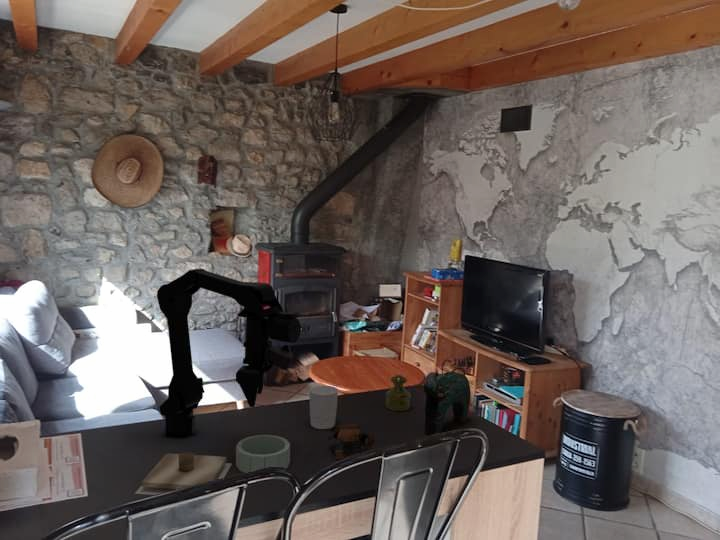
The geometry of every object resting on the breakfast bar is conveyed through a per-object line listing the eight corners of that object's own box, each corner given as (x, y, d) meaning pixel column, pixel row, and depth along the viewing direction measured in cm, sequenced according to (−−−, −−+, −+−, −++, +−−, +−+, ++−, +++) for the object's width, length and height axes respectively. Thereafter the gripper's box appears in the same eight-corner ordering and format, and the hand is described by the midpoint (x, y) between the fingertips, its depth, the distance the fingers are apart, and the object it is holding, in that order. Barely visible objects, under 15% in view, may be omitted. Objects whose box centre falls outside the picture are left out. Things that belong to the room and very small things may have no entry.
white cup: (333, 431, 160) (334, 395, 158) (304, 428, 161) (305, 392, 160) (339, 421, 167) (341, 386, 166) (312, 418, 169) (313, 384, 168)
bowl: (230, 476, 132) (230, 454, 131) (243, 453, 144) (243, 433, 143) (284, 479, 132) (284, 457, 131) (292, 456, 143) (293, 436, 143)
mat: (134, 496, 122) (134, 493, 122) (163, 462, 138) (163, 459, 138) (211, 500, 121) (211, 498, 121) (232, 465, 137) (232, 463, 137)
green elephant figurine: (435, 440, 156) (439, 366, 154) (414, 433, 160) (418, 361, 158) (473, 421, 171) (477, 353, 169) (453, 415, 175) (457, 349, 173)
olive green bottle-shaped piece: (402, 413, 175) (404, 380, 174) (380, 408, 179) (382, 375, 178) (414, 406, 181) (415, 375, 180) (393, 401, 185) (394, 370, 184)
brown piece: (323, 461, 142) (322, 426, 146) (337, 464, 151) (335, 430, 154) (371, 456, 139) (368, 420, 143) (382, 459, 148) (379, 425, 151)
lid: (141, 491, 123) (141, 467, 122) (166, 461, 137) (166, 440, 136) (208, 495, 122) (208, 471, 122) (226, 465, 136) (226, 443, 135)
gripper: (286, 348, 131) (283, 416, 133) (296, 329, 150) (293, 389, 152) (236, 345, 132) (234, 413, 133) (252, 327, 150) (250, 387, 152)
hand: (255, 400), depth 143 cm, fingers open, 9 cm apart
